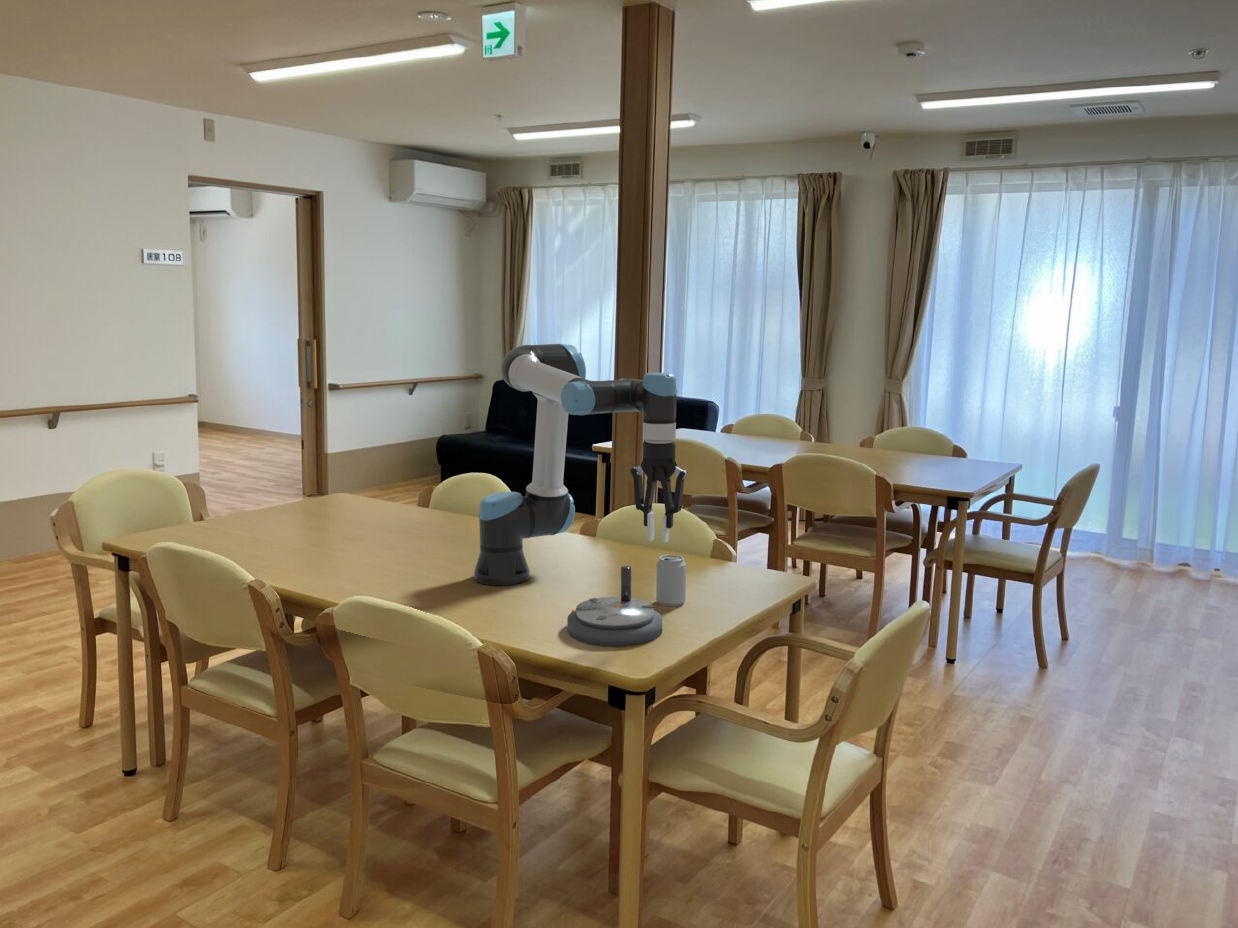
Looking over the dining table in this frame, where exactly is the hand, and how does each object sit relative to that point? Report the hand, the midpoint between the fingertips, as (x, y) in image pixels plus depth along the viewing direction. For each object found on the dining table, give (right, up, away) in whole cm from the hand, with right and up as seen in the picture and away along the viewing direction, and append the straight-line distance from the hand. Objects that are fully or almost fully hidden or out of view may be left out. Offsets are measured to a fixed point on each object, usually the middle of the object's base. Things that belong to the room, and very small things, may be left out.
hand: (658, 540), depth 225 cm
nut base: (-10, -21, 0) cm, 23 cm away
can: (+4, -18, +21) cm, 28 cm away
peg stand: (-10, -18, -1) cm, 20 cm away
